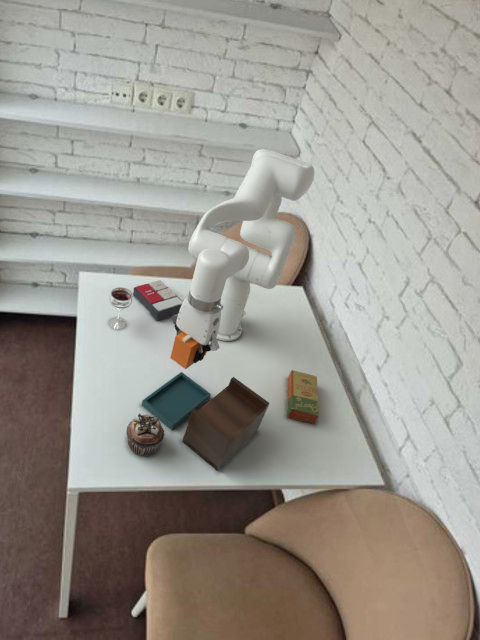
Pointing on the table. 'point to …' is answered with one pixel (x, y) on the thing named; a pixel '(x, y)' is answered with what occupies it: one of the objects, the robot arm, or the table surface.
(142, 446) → the cupcake
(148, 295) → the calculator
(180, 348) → the packet
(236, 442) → the shelf
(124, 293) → the wineglass
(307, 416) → the carton
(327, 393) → the table surface
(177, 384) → the tray
